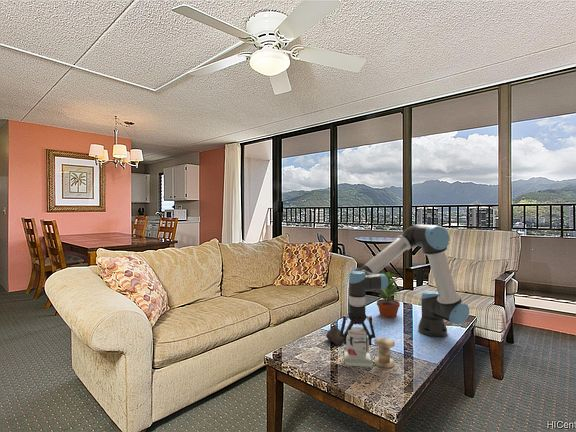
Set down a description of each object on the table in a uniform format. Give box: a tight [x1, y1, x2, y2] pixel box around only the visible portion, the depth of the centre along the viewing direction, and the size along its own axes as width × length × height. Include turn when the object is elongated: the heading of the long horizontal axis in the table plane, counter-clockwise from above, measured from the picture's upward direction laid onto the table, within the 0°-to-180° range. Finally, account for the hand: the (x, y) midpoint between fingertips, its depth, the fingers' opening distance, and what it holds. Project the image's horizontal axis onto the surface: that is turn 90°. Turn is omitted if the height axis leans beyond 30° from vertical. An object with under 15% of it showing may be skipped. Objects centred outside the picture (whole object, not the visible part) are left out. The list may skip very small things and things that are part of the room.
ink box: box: [347, 326, 368, 357], centre depth 154 cm, size 8×5×12 cm, turn 73°
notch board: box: [343, 345, 373, 368], centre depth 154 cm, size 12×15×3 cm
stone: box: [325, 326, 344, 346], centre depth 173 cm, size 10×8×10 cm
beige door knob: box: [373, 337, 396, 369], centre depth 149 cm, size 9×9×10 cm
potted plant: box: [376, 270, 401, 319], centre depth 213 cm, size 15×15×30 cm
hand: (357, 351), depth 154 cm, fingers closed on ink box, 9 cm apart
